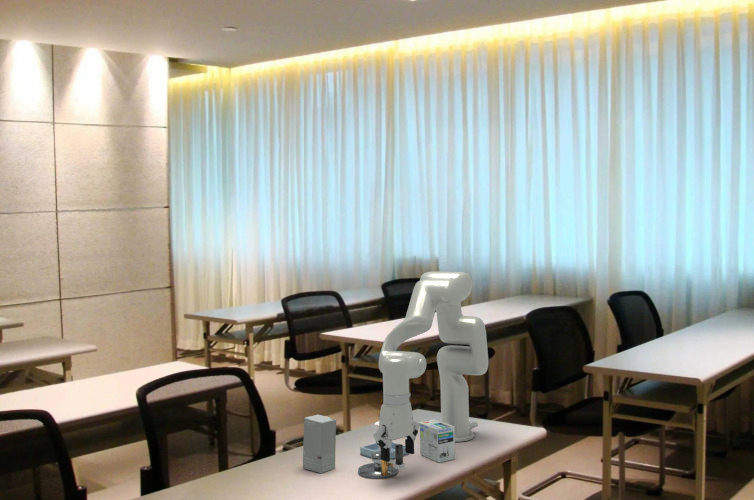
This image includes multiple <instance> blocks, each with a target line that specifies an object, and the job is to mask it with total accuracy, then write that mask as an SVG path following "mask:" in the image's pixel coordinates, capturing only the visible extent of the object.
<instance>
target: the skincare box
mask: <svg viewBox="0 0 754 500" xmlns="http://www.w3.org/2000/svg"><path fill="white" fill-rule="evenodd" d="M336 437H337V419H336V418H332V417H329V416H326V415H321V414H316V415H315V414H314V415H311V416H310V415H309V416H306V417H304V418H303V446H302V447H303V449H302V450H303V451H302V452H303V453H302V468H303V469H305V470H308V471H311V472H316V473H320V474H323V473H326V472H328V471H332V470H334V469H336V445H337V444H336V443H337V441H336V440H337V439H336Z"/></svg>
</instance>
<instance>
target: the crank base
mask: <svg viewBox="0 0 754 500" xmlns="http://www.w3.org/2000/svg"><path fill="white" fill-rule="evenodd" d="M357 473H358V476H360V477H362V478H365V479H372V480H381V479H389V478H392V477H394V476H396V475H397V474H398V473H399V469H396V468H393V467H389V466H388V463H387V462H386V461H383V460H381V464H379V463H375V462H371V463H367V464H362V465H361V466H359V467H358V468H357Z"/></svg>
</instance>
